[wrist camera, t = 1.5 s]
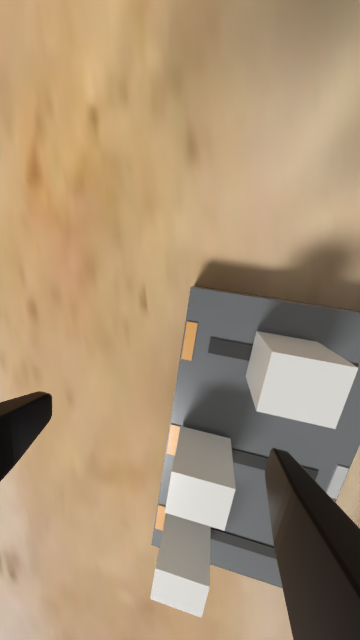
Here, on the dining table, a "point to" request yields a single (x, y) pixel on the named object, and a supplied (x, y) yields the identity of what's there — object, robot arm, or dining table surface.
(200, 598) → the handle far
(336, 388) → the handle
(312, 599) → the robot arm
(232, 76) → the dining table surface
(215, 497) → the handle mid
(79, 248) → the dining table surface
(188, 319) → the breaker panel
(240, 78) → the dining table surface
